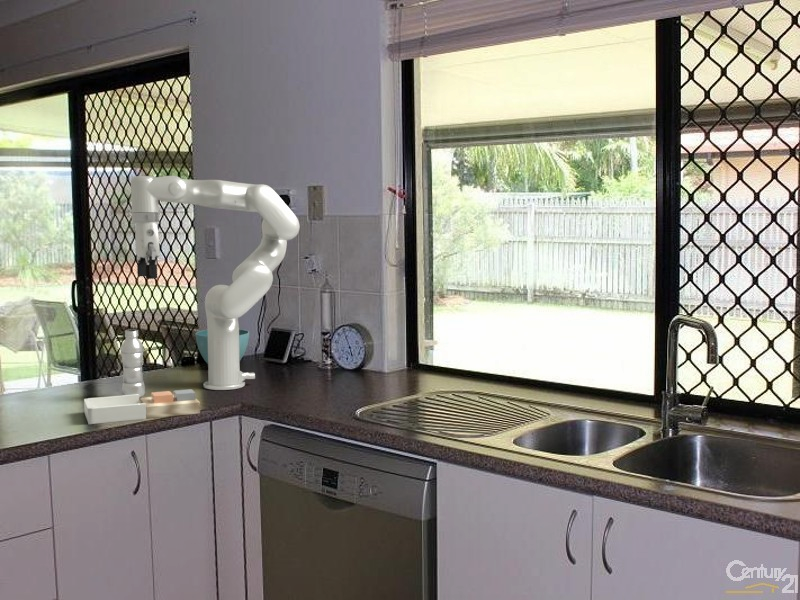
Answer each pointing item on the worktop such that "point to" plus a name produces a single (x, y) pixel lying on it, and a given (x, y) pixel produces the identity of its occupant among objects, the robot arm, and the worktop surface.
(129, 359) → the plastic bottle
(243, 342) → the teal bowl
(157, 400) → the terracotta tile
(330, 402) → the worktop surface
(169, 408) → the plate
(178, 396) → the slate tile
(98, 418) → the box
